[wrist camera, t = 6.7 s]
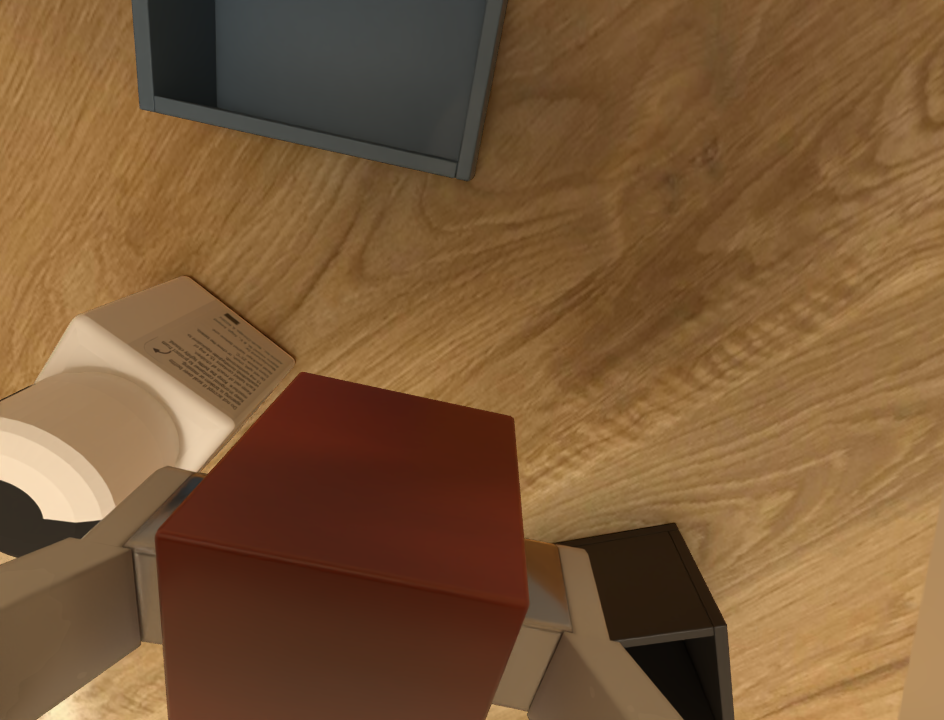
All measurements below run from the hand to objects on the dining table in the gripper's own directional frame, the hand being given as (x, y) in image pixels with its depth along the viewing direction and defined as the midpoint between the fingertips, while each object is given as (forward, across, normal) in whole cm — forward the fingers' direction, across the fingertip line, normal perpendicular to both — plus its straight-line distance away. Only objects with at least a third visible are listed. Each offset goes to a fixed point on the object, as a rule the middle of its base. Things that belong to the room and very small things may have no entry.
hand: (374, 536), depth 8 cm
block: (+2, 0, 0) cm, 2 cm away
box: (+19, +7, -9) cm, 22 cm away
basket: (+19, -16, +21) cm, 32 cm away
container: (+19, +13, +8) cm, 25 cm away
